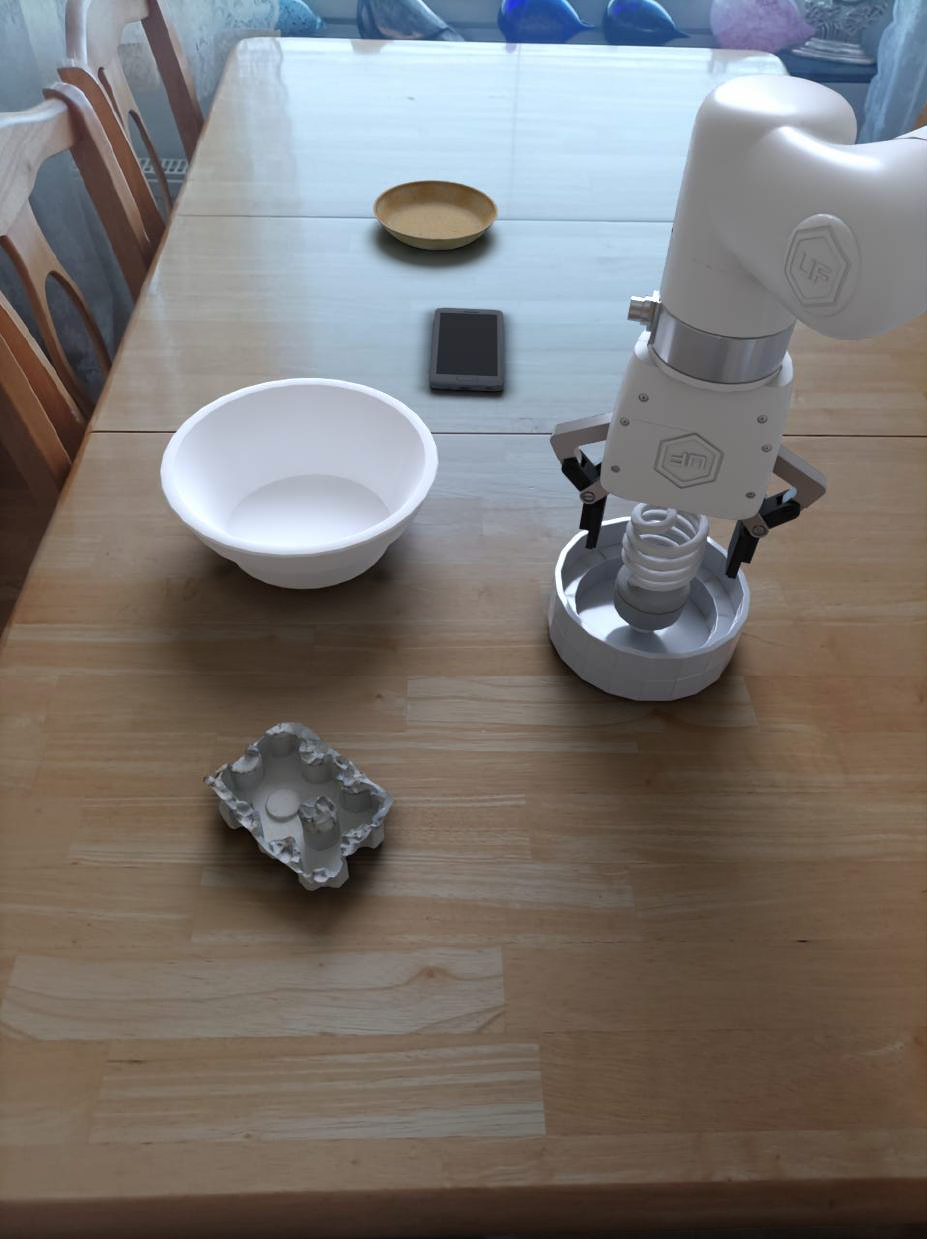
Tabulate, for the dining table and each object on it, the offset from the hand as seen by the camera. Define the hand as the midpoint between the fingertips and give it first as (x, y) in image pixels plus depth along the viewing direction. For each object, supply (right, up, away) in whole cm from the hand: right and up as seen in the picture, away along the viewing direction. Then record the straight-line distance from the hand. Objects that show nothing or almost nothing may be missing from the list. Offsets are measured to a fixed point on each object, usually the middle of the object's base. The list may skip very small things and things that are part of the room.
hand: (661, 550), depth 65 cm
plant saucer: (-17, +42, +48) cm, 66 cm away
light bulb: (0, -6, +6) cm, 8 cm away
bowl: (-26, +2, +13) cm, 29 cm away
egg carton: (-24, -18, -4) cm, 30 cm away
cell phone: (-13, +23, +31) cm, 40 cm away
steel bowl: (0, -6, +7) cm, 9 cm away
